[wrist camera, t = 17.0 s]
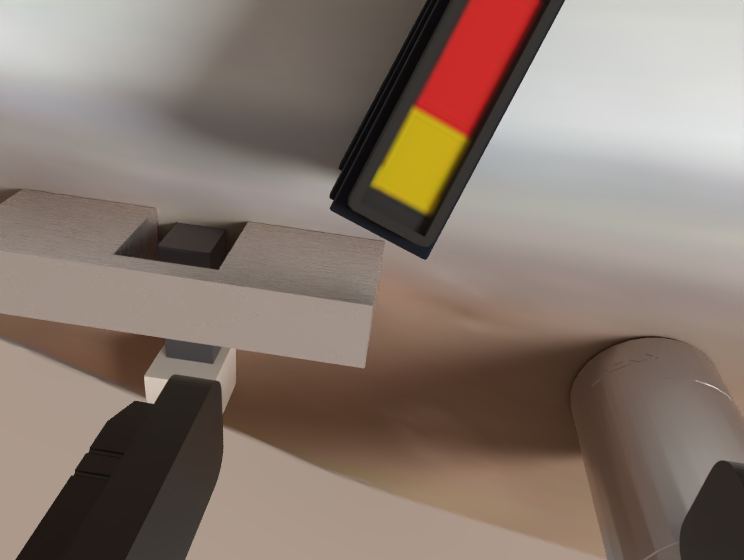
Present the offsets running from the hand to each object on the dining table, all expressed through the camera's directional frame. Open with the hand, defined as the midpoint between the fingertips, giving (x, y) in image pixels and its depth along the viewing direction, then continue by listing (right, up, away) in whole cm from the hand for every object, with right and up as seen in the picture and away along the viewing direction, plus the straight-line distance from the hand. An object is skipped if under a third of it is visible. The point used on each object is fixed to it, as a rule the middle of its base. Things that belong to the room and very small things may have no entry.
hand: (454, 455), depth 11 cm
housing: (-12, +5, +29) cm, 31 cm away
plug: (-12, +1, +32) cm, 34 cm away
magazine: (+2, +14, +22) cm, 26 cm away
